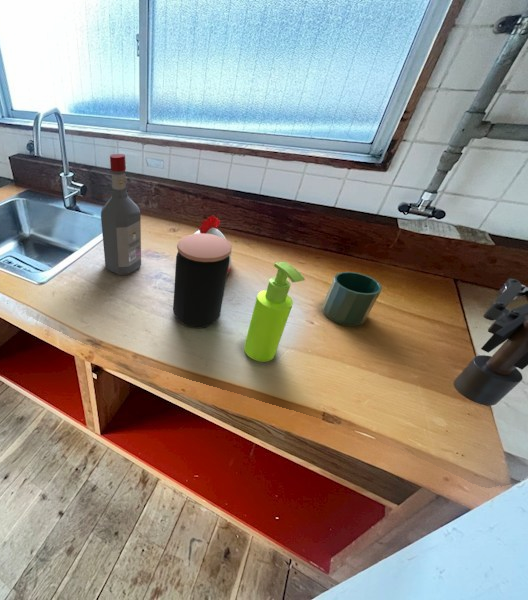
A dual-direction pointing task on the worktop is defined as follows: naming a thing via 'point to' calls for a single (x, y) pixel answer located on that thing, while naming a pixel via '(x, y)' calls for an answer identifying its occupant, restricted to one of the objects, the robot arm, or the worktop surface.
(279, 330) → the soap dispenser
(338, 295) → the teal faceted cup
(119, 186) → the liquor
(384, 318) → the worktop surface
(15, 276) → the worktop surface
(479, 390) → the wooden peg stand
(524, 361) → the robot arm
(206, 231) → the kitchen timer
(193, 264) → the coffee jar
